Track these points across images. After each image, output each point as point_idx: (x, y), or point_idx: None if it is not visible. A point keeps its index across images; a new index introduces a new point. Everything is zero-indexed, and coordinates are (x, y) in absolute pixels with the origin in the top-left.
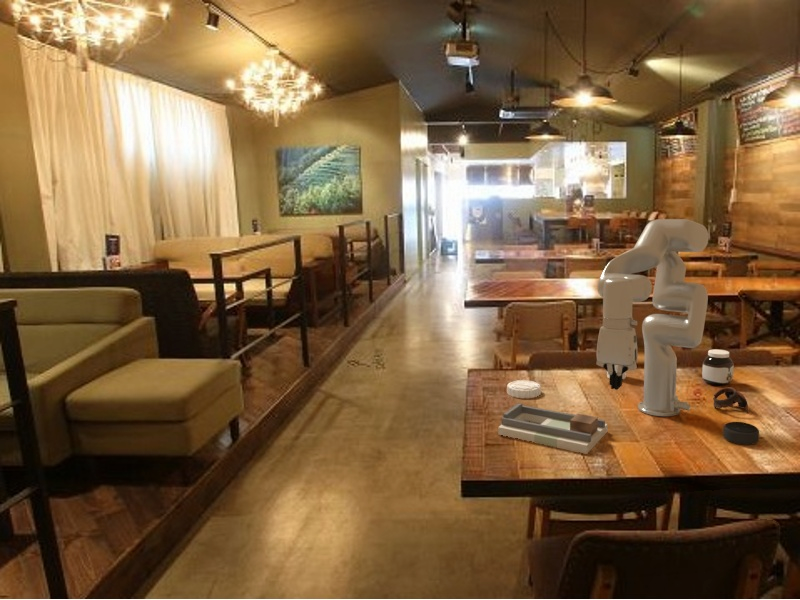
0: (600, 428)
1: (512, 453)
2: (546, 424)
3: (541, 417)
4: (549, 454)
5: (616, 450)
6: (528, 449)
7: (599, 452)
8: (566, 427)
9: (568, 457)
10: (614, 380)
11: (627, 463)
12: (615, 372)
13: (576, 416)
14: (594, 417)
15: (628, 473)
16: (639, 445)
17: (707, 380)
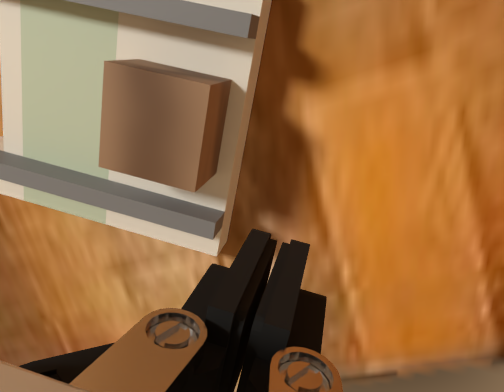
0: (241, 52)
1: (24, 282)
2: (21, 80)
3: None
4: (118, 267)
5: (328, 182)
6: (51, 245)
7: (267, 216)
8: (102, 89)
9: (176, 277)
10: (240, 364)
11: (371, 285)
12: (218, 373)
13: (111, 108)
14: (195, 94)
15: (374, 354)
16: (428, 101)
17: None
